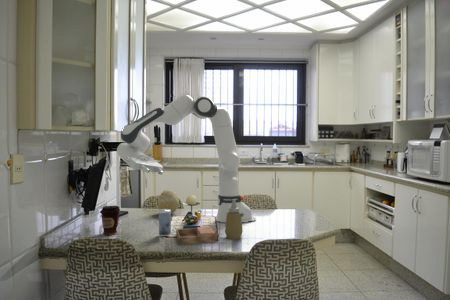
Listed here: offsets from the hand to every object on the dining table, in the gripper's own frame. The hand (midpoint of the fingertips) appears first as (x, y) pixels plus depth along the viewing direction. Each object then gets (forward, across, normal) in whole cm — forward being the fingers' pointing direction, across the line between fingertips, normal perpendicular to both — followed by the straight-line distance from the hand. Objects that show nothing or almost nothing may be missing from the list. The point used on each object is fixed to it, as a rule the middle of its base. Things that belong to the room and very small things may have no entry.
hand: (155, 172), depth 156 cm
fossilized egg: (-7, +33, +28) cm, 44 cm away
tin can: (+21, 0, +23) cm, 31 cm away
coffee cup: (0, -11, +34) cm, 36 cm away
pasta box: (+39, +6, +14) cm, 41 cm away
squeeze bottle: (+48, +13, +9) cm, 51 cm away
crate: (+36, +3, +16) cm, 40 cm away
